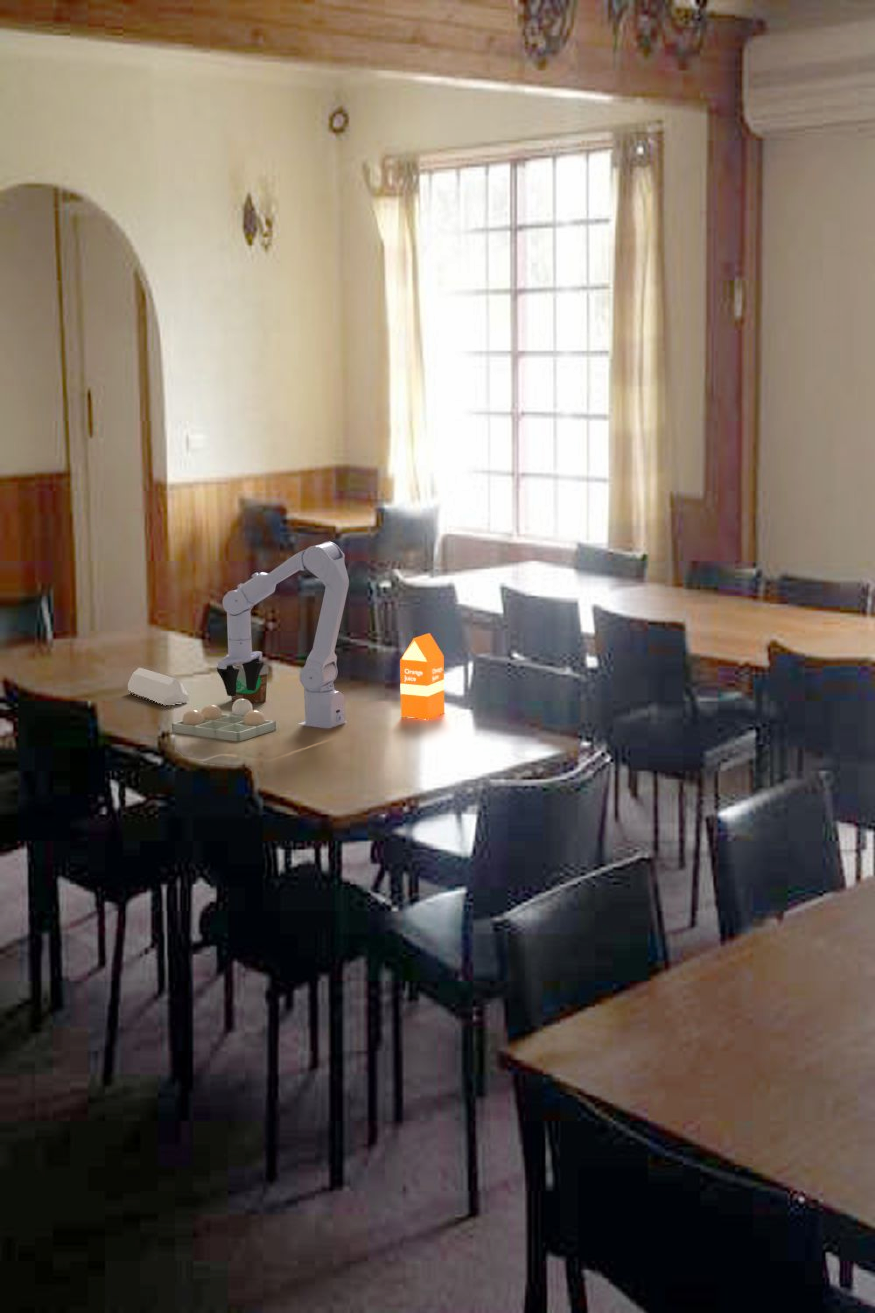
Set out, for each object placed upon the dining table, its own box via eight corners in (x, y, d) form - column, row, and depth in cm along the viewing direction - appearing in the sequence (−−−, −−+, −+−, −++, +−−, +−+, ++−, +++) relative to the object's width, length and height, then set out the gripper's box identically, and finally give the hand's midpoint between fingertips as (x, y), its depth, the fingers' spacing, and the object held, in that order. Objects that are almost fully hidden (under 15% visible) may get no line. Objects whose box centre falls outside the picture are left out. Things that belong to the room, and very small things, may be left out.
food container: (217, 704, 423) (215, 665, 422) (230, 699, 429) (229, 661, 427) (257, 708, 418) (255, 669, 416) (270, 703, 423) (269, 665, 421)
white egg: (257, 717, 405) (256, 697, 404) (244, 721, 401) (243, 701, 400) (241, 715, 408) (240, 695, 407) (228, 719, 404) (227, 699, 403)
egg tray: (276, 732, 391) (275, 721, 391) (238, 744, 380) (238, 733, 379) (210, 722, 402) (209, 712, 402) (172, 734, 391) (171, 723, 390)
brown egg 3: (269, 730, 391) (268, 709, 390) (256, 734, 387) (255, 713, 386) (253, 727, 394) (252, 707, 393) (239, 731, 389) (238, 711, 388)
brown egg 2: (226, 723, 398) (225, 703, 397) (213, 728, 394) (212, 707, 393) (210, 721, 401) (209, 701, 400) (197, 725, 396) (196, 705, 396)
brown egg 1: (208, 729, 392) (207, 708, 392) (194, 733, 388) (193, 712, 387) (192, 727, 395) (191, 706, 394) (178, 731, 391) (177, 710, 390)
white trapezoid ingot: (198, 688, 424) (155, 675, 443) (176, 678, 420) (133, 665, 439) (186, 715, 423) (143, 700, 442) (164, 705, 419) (122, 690, 438)
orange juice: (400, 717, 405) (398, 637, 401) (417, 710, 412) (416, 631, 409) (428, 720, 401) (427, 639, 397) (445, 713, 409) (444, 633, 405)
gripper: (245, 632, 409) (247, 686, 411) (207, 641, 397) (209, 696, 399) (268, 634, 405) (269, 688, 408) (230, 644, 393) (232, 699, 396)
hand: (241, 693), depth 403 cm, fingers open, 7 cm apart
